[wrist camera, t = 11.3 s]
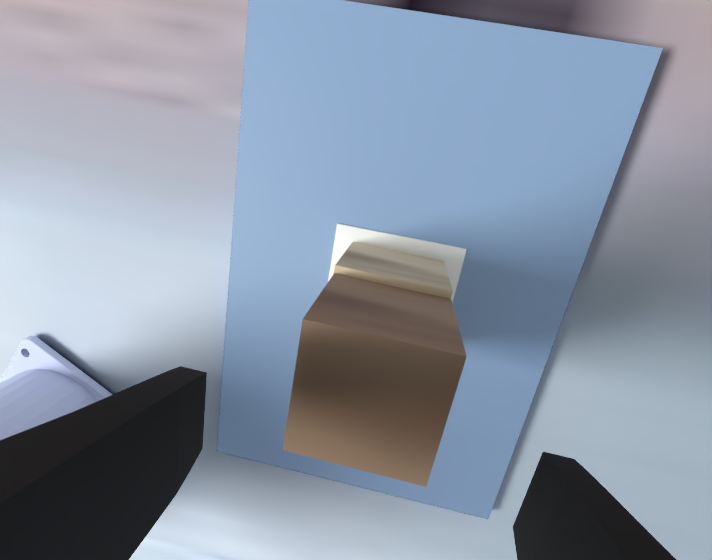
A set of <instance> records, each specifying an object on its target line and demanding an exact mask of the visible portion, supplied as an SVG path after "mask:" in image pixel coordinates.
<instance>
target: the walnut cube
mask: <svg viewBox="0 0 712 560" xmlns="http://www.w3.org/2000/svg"><path fill="white" fill-rule="evenodd" d="M466 358H467V356H466V352H465V348H464V345H463V341H462V337H461V334H460V330H459V326H458V323H457V319H456V315H455V312H454V308H453V304H452V301H451V299H449V298H444V297H440V296H435V295H431V294H426V293H422V292H417V291H413V290H408V289H404V288H399V287H394V286H390V285H385V284H381V283H376V282H372V281H367V280H363V279H358V278H354V277H349V276H345V275H340V274H335V273H334V274H333V276H332V277H331V279H330V280H329V281H328V283H327V284H326V286H325V287H324V289H323V290H322V292H321V293H320V294H319V296H318V297H317V299H316V300H315V302H314V303H313V305H312V306H311V307H310V309H309V310H308V312H307V313H306V315H305V316H304V318H303V320H302V326H301V333H300V339H299V346H298V352H297V359H296V365H295V372H294V378H293V385H292V391H291V398H290V405H289V411H288V418H287V424H286V431H285V437H284V444H283V450H285V451H289V452H293V453H297V454H301V455H305V456H308V457H312V458H316V459H320V460H324V461H328V462H332V463H336V464H339V465H343V466H347V467H351V468H355V469H359V470H363V471H366V472H370V473H374V474H378V475H382V476H386V477H390V478H393V479H397V480H401V481H405V482H409V483H413V484H417V485H421V486H424V487H426V486H427V483H428V480H429V477H430V473H431V470H432V467H433V464H434V460H435V457H436V454H437V451H438V448H439V444H440V441H441V438H442V435H443V431H444V428H445V425H446V422H447V419H448V415H449V412H450V409H451V406H452V403H453V399H454V396H455V393H456V390H457V386H458V383H459V380H460V377H461V374H462V370H463V367H464V364H465V361H466Z"/></svg>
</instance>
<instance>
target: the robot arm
mask: <svg viewBox="0 0 712 560" xmlns="http://www.w3.org/2000/svg"><path fill="white" fill-rule="evenodd" d="M206 374H207V373H206V372H201V371H197V370H193V369H189V368H184V367H178V368H175V369H172V370H170V371H167V372H165V373H162V374H160V375H157V376H155V377H153V378H150V379H148V380H146V381H143V382H141V383H139V384H136V385H134V386H132V387H130V388H127V389H125V390H123V391H120V392H118V393H116V394H111V393H110V392H109V391H107V390H106V389H105V388H103V387H102V386H101V385H99V384H98V383H97V382H95V381H94V380H93V379H91V378H90V377H89V376H88V375H86V374H85V373H84V372H82V371H81V370H80V369H78V368H77V367H76V366H74V365H73V364H72V363H70V362H69V361H68V360H66V359H65V358H64V357H62V356H61V355H60V354H58V353H57V352H56V351H55V350H53V349H52V348H51V347H49V346H48V345H47V344H45V343H44V342H43V341H41V340H40V339H39V338H37V337H35V336H29V337H27V338H25V339H23V340H22V342H21V343H20V345H19V347H18V349H17V351H16V352H15V354H14V356H13V358H12V360H11V361H10V363H9V365H8V367H7V369H6V370H5V372H4V374H3V376H2V377H1V379H0V560H129V558H130V557H131V556H132V554H133V553H134V551H135V550H136V549H137V547H138V546H139V545H140V543H141V542H142V541H143V539H144V538H145V537H146V535H147V534H148V532H149V531H150V530H151V528H152V527H153V526H154V524H155V523H156V521H157V520H158V519H159V517H160V516H161V515H162V513H163V512H164V510H165V509H166V508H167V506H168V505H169V503H170V502H171V501H172V499H173V498H174V496H175V495H176V494H177V492H178V490H179V489H180V487H181V485H182V483H183V482H184V480H185V478H186V477H187V475H188V473H189V472H190V470H191V468H192V466H193V464H194V463H195V461H196V459H197V457H198V455H199V454H200V452H201V450H202V445H203V428H204V410H205V392H206ZM513 530H514V537H515V545H516V552H517V559H518V560H676V559H675V558H674V557H673V556H672V555H671V554H670V553H669V552H668V551H667V550H666V549H665V548H664V547H663V546H662V545H661V544H660V543H659V542H658V541H657V540H656V539H655V538H654V537H653V536H652V535H651V534H650V533H649V532H648V531H647V530H646V529H645V528H644V527H643V526H642V525H641V524H640V523H639V522H638V521H637V520H636V519H635V518H634V517H633V516H632V515H631V514H630V513H629V512H628V511H627V510H626V509H625V508H624V507H623V506H622V505H621V504H620V503H619V502H618V501H617V500H616V499H615V498H614V497H613V496H612V495H611V494H610V493H609V492H608V491H607V490H606V489H605V488H604V487H603V486H602V485H601V484H600V483H599V482H598V481H597V480H596V479H595V478H594V477H593V476H592V475H591V474H590V473H589V472H588V471H587V470H586V469H584V468H583V467H582V466H581V465H580V464H579V463H578V462H577V461H576V460H574V459H572V458H567V457H563V456H559V455H555V454H550V453H546V452H543V453H542V456H541V458H540V461H539V463H538V466H537V468H536V471H535V473H534V476H533V478H532V481H531V483H530V486H529V488H528V491H527V493H526V496H525V498H524V501H523V503H522V506H521V508H520V511H519V513H518V516H517V518H516V521H515V523H514V526H513Z"/></svg>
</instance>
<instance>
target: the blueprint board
mask: <svg viewBox="0 0 712 560" xmlns="http://www.w3.org/2000/svg"><path fill="white" fill-rule="evenodd" d="M662 50H663V48H659V47H652V46H645V45H639V44H632V43H625V42H619V41H612V40H605V39H599V38H592V37H585V36H579V35H572V34H565V33H558V32H552V31H545V30H538V29H532V28H525V27H518V26H512V25H505V24H498V23H492V22H485V21H478V20H472V19H465V18H458V17H451V16H445V15H438V14H431V13H425V12H418V11H411V10H405V9H398V8H391V7H385V6H378V5H371V4H364V3H358V2H351V1H344V0H249V4H248V18H247V32H246V46H245V60H244V74H243V88H242V102H241V116H240V130H239V145H238V159H237V173H236V187H235V201H234V215H233V229H232V243H231V257H230V271H229V286H228V300H227V314H226V328H225V342H224V356H223V370H222V384H221V398H220V412H219V427H218V441H217V451H218V452H222V453H226V454H230V455H234V456H238V457H242V458H246V459H250V460H254V461H258V462H262V463H266V464H270V465H274V466H278V467H282V468H286V469H290V470H294V471H298V472H302V473H306V474H310V475H314V476H318V477H322V478H326V479H330V480H334V481H338V482H342V483H346V484H349V485H353V486H357V487H361V488H365V489H369V490H373V491H377V492H381V493H385V494H389V495H393V496H397V497H401V498H405V499H409V500H413V501H417V502H421V503H425V504H429V505H433V506H437V507H441V508H445V509H449V510H453V511H457V512H461V513H465V514H469V515H473V516H477V517H481V518H485V519H489V516H490V513H491V511H492V508H493V505H494V503H495V500H496V497H497V494H498V492H499V489H500V486H501V484H502V481H503V478H504V476H505V473H506V470H507V467H508V465H509V462H510V459H511V457H512V454H513V451H514V449H515V446H516V443H517V441H518V438H519V435H520V432H521V430H522V427H523V424H524V422H525V419H526V416H527V414H528V411H529V408H530V405H531V403H532V400H533V397H534V395H535V392H536V389H537V387H538V384H539V381H540V379H541V376H542V373H543V370H544V368H545V365H546V362H547V360H548V357H549V354H550V352H551V349H552V346H553V343H554V341H555V338H556V335H557V333H558V330H559V327H560V325H561V322H562V319H563V317H564V314H565V311H566V308H567V306H568V303H569V300H570V298H571V295H572V292H573V290H574V287H575V284H576V281H577V279H578V276H579V273H580V271H581V268H582V265H583V263H584V260H585V257H586V255H587V252H588V249H589V246H590V244H591V241H592V238H593V236H594V233H595V230H596V228H597V225H598V222H599V219H600V217H601V214H602V211H603V209H604V206H605V203H606V201H607V198H608V195H609V193H610V190H611V187H612V184H613V182H614V179H615V176H616V174H617V171H618V168H619V166H620V163H621V160H622V157H623V155H624V152H625V149H626V147H627V144H628V141H629V139H630V136H631V133H632V131H633V128H634V125H635V122H636V120H637V117H638V114H639V112H640V109H641V106H642V104H643V101H644V98H645V95H646V93H647V90H648V87H649V85H650V82H651V79H652V77H653V74H654V71H655V69H656V66H657V63H658V60H659V58H660V55H661V52H662ZM352 242H357V243H362V244H367V245H371V246H376V247H381V248H385V249H390V250H395V251H399V252H404V253H409V254H413V255H418V256H423V257H427V258H432V259H437V260H441V261H444V263H445V267H446V270H447V273H448V277H449V280H450V283H451V287H452V290H453V292H452V296H451V301H452V304H453V308H454V312H455V315H456V319H457V323H458V326H459V330H460V334H461V337H462V341H463V345H464V348H465V352H466V356H467V358H466V361H465V364H464V367H463V370H462V374H461V377H460V380H459V383H458V386H457V390H456V393H455V396H454V399H453V403H452V406H451V409H450V412H449V415H448V419H447V422H446V425H445V428H444V431H443V435H442V438H441V441H440V444H439V448H438V451H437V454H436V457H435V460H434V464H433V467H432V470H431V473H430V477H429V480H428V483H427V486H426V487H424V486H421V485H417V484H413V483H409V482H405V481H401V480H397V479H393V478H390V477H386V476H382V475H378V474H374V473H370V472H366V471H363V470H359V469H355V468H351V467H347V466H343V465H339V464H336V463H332V462H328V461H324V460H320V459H316V458H312V457H308V456H305V455H301V454H297V453H293V452H289V451H285V450H283V444H284V437H285V431H286V424H287V418H288V411H289V405H290V398H291V391H292V385H293V378H294V372H295V365H296V359H297V352H298V346H299V339H300V333H301V326H302V320H303V318H304V316H305V315H306V313H307V312H308V310H309V309H310V307H311V306H312V305H313V303H314V302H315V300H316V299H317V297H318V296H319V294H320V293H321V292H322V290H323V289H324V287H325V286H326V284H327V283H328V281H329V280H330V279H331V277H332V276H333V274H334V269H335V265H336V263H337V262H338V261H339V259H340V258H341V257H342V255H343V254H344V253H345V251H346V250H347V248H348V247H349V246H350V244H351V243H352Z"/></svg>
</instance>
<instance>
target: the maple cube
mask: <svg viewBox="0 0 712 560" xmlns="http://www.w3.org/2000/svg"><path fill="white" fill-rule="evenodd" d="M334 273H335V274H340V275H345V276H349V277H354V278H358V279H363V280H367V281H372V282H376V283H381V284H385V285H390V286H394V287H399V288H404V289H408V290H413V291H417V292H422V293H426V294H431V295H435V296H440V297H444V298H449V299H451V296H452V292H453V290H452V287H451V283H450V280H449V277H448V273H447V270H446V267H445V263H444V261H441V260H437V259H432V258H427V257H423V256H418V255H413V254H409V253H404V252H399V251H395V250H390V249H385V248H381V247H376V246H371V245H367V244H362V243H357V242H352V243H351V244H350V246H349V247H348V248H347V250H346V251H345V253H344V254H343V255H342V257H341V258H340V259H339V261H338V262H337V263H336V265H335V269H334Z"/></svg>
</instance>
